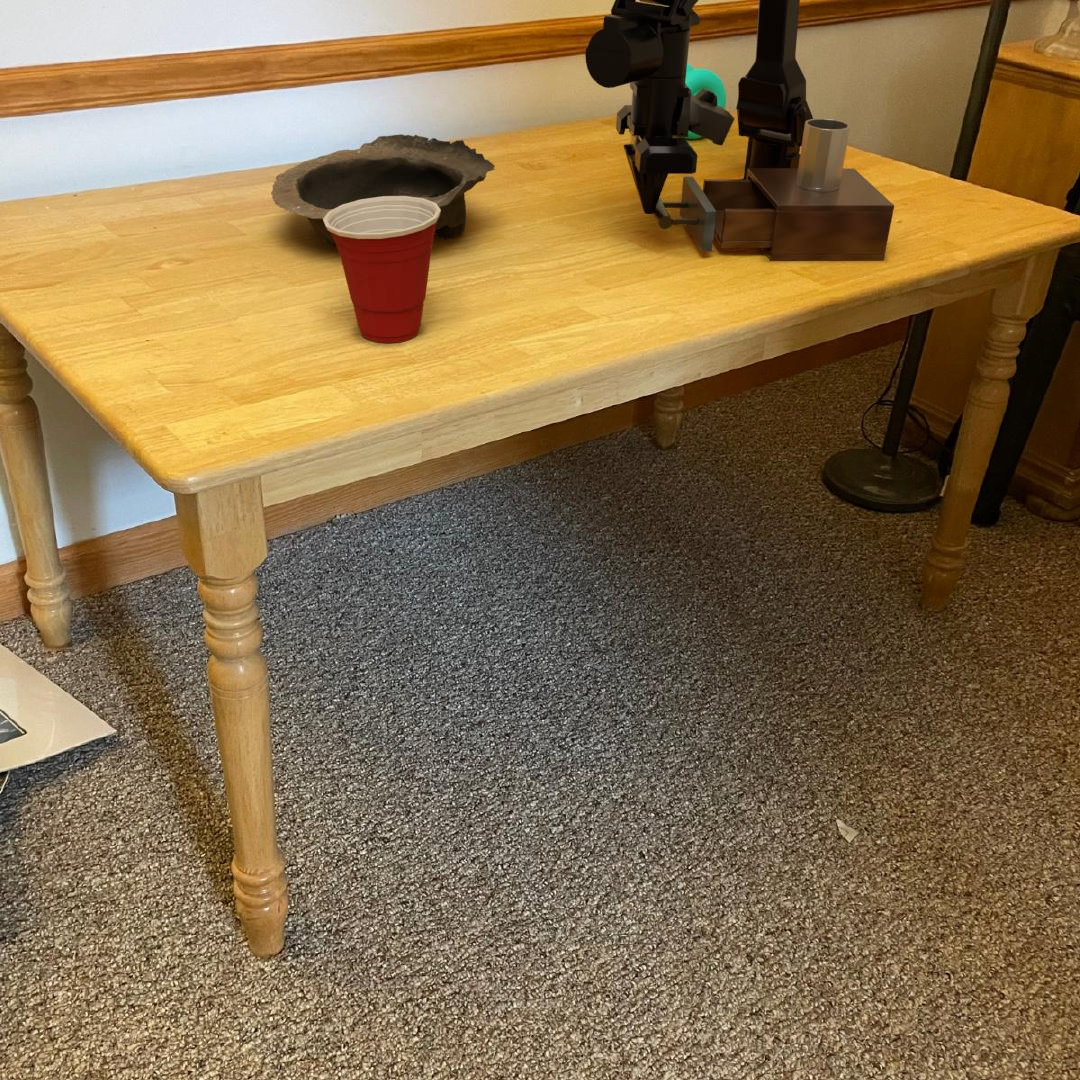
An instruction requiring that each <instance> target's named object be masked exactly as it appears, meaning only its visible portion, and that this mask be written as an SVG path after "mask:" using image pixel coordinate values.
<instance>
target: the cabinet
mask: <svg viewBox="0 0 1080 1080" xmlns="http://www.w3.org/2000/svg"><path fill="white" fill-rule="evenodd" d="M797 173H798V168H748V169H747V177H746V179H752V180H753V182H754V183H755V184H756V185H757V187H758V188H759V189H760V190H761V192H762V193H763V194H764V195H765V196H766V198H767V199H768V200H769V201H770V203H771V204H772V205H773V206H774V208H775V209H776V213H775V220H774V227H773V234H772V241H771V248H761V250H762V251H763V252H764V254H765V255H766V257H767V258H768V259H769V261H770V262H771V261H772V262H775V261H777V262H779V261H783V262H786V261H787V262H789V261H790V262H791V261H797V262H798V261H801V262H803V261H806V262H807V261H809V262H810V261H811V262H813V261H814V262H815V261H884V260H885V256H886V250H887V245H888V239H889V235H890V230H891V225H892V220H893V215H894V211H895V210H894V209H895V204H893V202H891V201H890V200H889V198H888V197H886V196H885V195H884V194H883V193H882V192H880V191H879V190H878V189H877V188H876V187H875V186H874V185H873V184H872V183H871V182H870V181H868V180H867V179H866V177H864V176H863V175H862V174H861V172H859V171H858V170H857V169H856V168H843V170H842V176H841V182H840V188H839V189H838V190H836V191H832V192H815V191H809V190H805V189H802V188H800V187H798V186H797V185H796V180H797Z"/></svg>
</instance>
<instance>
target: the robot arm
mask: <svg viewBox="0 0 1080 1080" xmlns="http://www.w3.org/2000/svg"><path fill="white" fill-rule="evenodd" d="M698 2H699V0H638V1H637V0H614V2H613V4H612V6H611V10H610V14H608V15H604V17H603V24H602V28H601V29H599V30H598V31H596V32H595V33H594V34H593V35H592V36H591V38H590V40H589V41H588V44H587V47H586V48H585V56H584V57H585V65H586V68H587V71H588V73H589V75H590V77H591V78H592V80H593V81H594V82H595V83H596V84H597V85H599V86H601V87H603V88H607V89H613V88H614V89H615V88H618V87H621V86H624V85H629V88H630V89H631V91H632V93H631V94H632V96H631V104H625V105H624V106H622V107H621V108H620V110H618V111H617V112H616V121H615V130H616V132H617V134H618V135H620V136H621V135H622V136H623V135H625V132H626V130H628V132H629V134H630V135H631V137H630V143H625V144H623V150H624V153H625V157H626V159H627V162H628V165H629V170H630V172H631V176H632V178H633V179H632V180H633V182H634V185H635V188H636V192H637V194H638V198H639V202H640V205H641V208H642V211H643V213H644V215H653V213H654V212H655V209H656V206H657V203H658V200H659V198H661V194H662V191H663V189H664V186H665V183H666V181H667V179H668V176H669V175H693V174H695V173H697V166H698V157H699V156H698V153H697V152H696V151H695V149H694V148H693V146H692V145H691V144H690V143H689V142H688V141H687V140H686V138H683V137H688V131H690V132H692V133H695V134H697V135H700V136H702V137H701V138H705V139H708V140H709V141H712V144H713V145H717V146H719V147H720V146H723V145H724V143H725V141H726V138H727V136H728V135H729V132H730V130H731V128H732V126H733V124H734V122H735V117H734V116H733V115H732V114H731V113H730V111H728V110H727V109H726V108H725V109H724V108H723V107H721V106H717V95H716V94H715V93H714V92H712V91H709V90H707V89H704V88H703V89H702V90H701V91H700V92H698V93H697V94H696V95H695V96H694V95H691V90H690V89H689V87H688V86H687V85H686V84H685V81H686V71H687V63H688V59H689V50H690V49H689V47H690V38H691V27H694V26H699V25H700V24H701V18H700V16H699V14H698V13H697V12H696V11H695V10H694V9H693V8H694V7H695V5H696V4H697V3H698ZM800 2H801V0H758V13H757V14H758V15H757V31H756V47H755V60H754V62H753V64H752V65H751V67H750V68H749V70H748V71H747V73H746V74H745V75H744V76H742V77H741V78H740V79H739V81H738V83H737V88H738V89H737V90H738V93H737V94H738V97H737V103H736V107H735V109H736V113H737V128H738V136H739V137H747V138H748V139H747V148H746V156H745V163H744V171H743V177H742V178H740V179H746V177H747V169H748V168H798V167H799V160H800V153H801V147H802V140H803V133H804V127H805V122H806V121H807V120H810V119H814V117H813V114H812V112H811V109H810V106H809V103H808V101H807V80H806V77H805V75H804V73H803V71H802V69H801V67H800V65H799V63H798V60H797V57H796V56H797V55H796V52H797V40H798V31H799V30H798V28H799V17H800V15H799V14H800V6H801V5H800V4H801V3H800Z"/></svg>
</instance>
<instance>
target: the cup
mask: <svg viewBox="0 0 1080 1080" xmlns="http://www.w3.org/2000/svg"><path fill="white" fill-rule="evenodd" d="M850 128H851V124H850V123H848V122H845V121H843V120H838V119H832V118H824V117H823V118H813V119H810V120H807V121H806V122H805V127H804V133H803V140H802V146H800V153H799V154H800V160H799V167H798V173H797V180H796V185H797V186H798V187H800V188H802V189H805V190H809V191H815V192H832V191H836V190H838V189H839V188H840V182H841V176H842V170H843V169H844V164H845V158H846V153H847V147H848V140H849V134H850Z"/></svg>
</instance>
